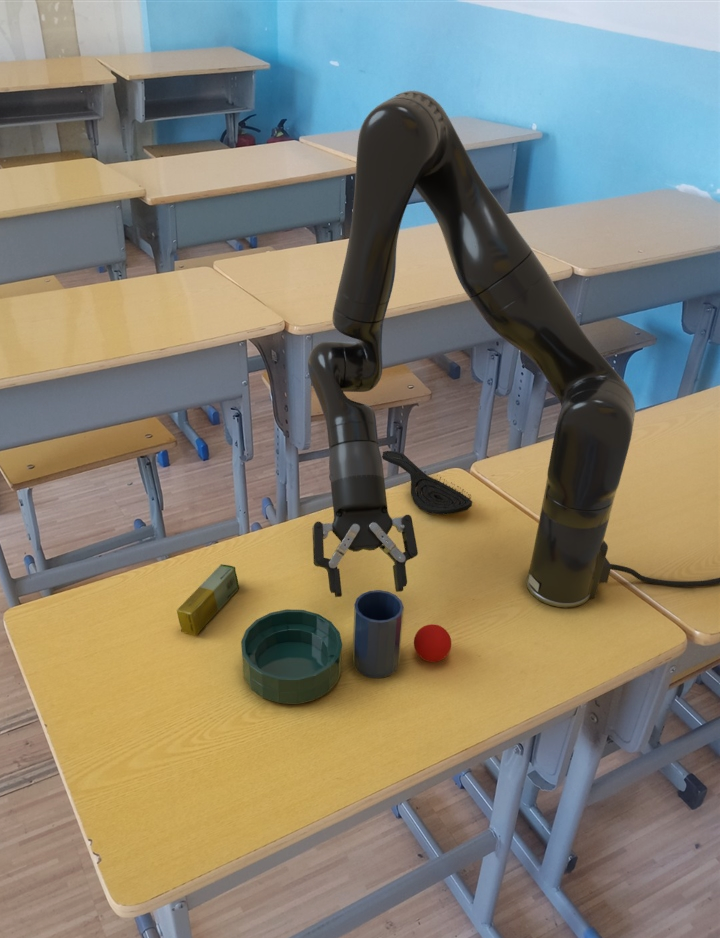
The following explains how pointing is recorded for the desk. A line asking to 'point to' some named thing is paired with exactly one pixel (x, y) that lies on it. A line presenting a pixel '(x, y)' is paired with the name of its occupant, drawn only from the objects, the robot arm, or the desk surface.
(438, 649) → the ball
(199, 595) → the medication box
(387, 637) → the pencil cup
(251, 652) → the bowl
